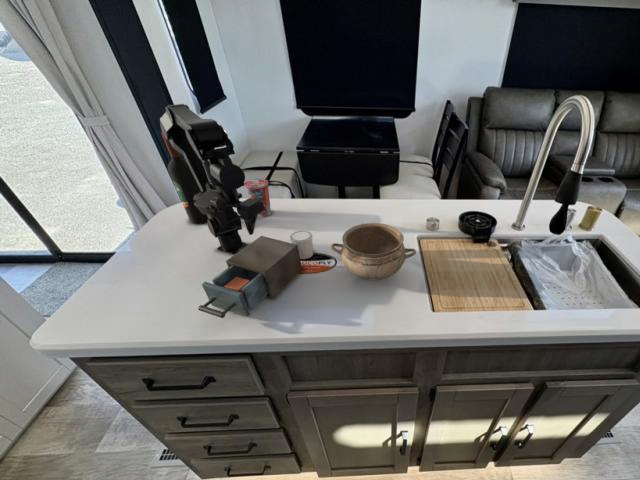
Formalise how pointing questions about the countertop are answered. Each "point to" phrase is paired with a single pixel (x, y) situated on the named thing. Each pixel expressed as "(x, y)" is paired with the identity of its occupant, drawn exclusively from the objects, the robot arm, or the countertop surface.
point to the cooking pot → (373, 250)
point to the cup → (259, 193)
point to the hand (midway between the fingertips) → (238, 231)
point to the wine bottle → (184, 184)
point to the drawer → (234, 292)
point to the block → (237, 284)
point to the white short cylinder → (303, 243)
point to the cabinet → (270, 262)
